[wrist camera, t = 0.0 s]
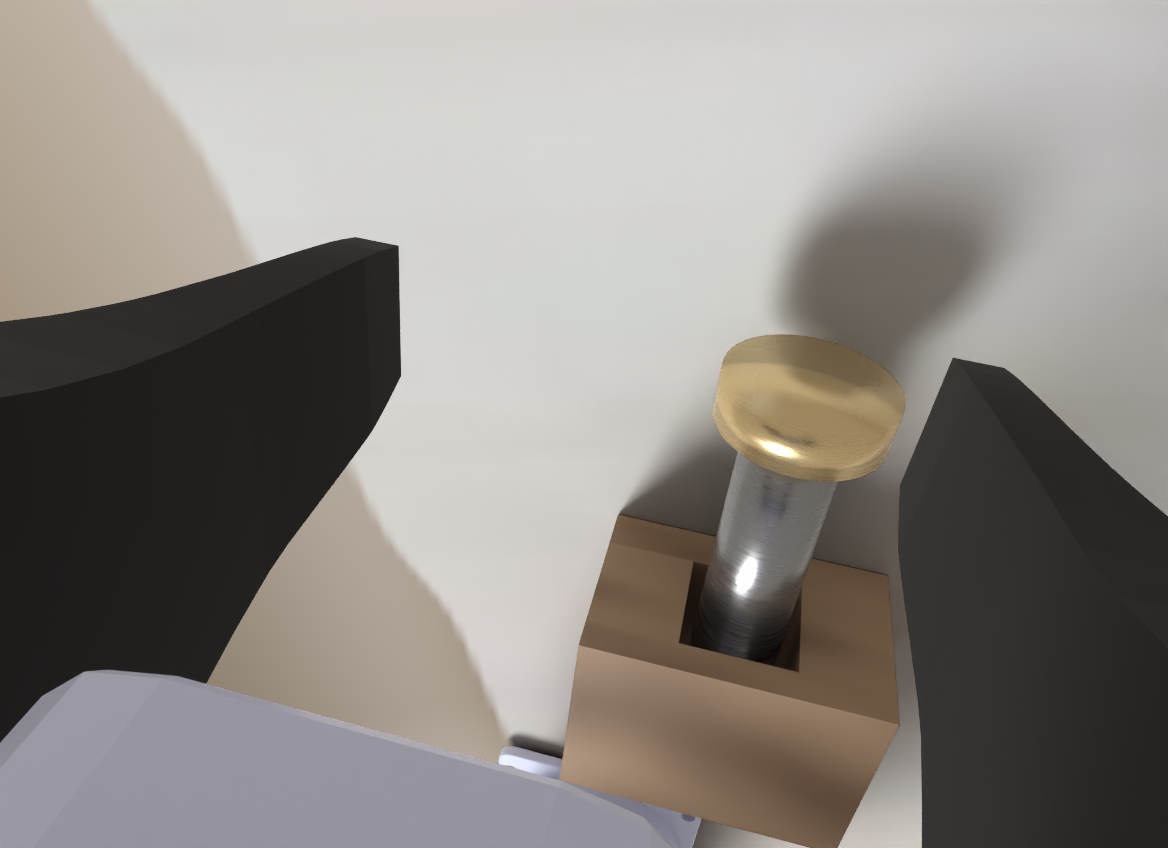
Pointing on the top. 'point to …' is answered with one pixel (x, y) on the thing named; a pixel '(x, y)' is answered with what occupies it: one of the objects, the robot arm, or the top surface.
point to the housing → (731, 695)
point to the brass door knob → (785, 477)
